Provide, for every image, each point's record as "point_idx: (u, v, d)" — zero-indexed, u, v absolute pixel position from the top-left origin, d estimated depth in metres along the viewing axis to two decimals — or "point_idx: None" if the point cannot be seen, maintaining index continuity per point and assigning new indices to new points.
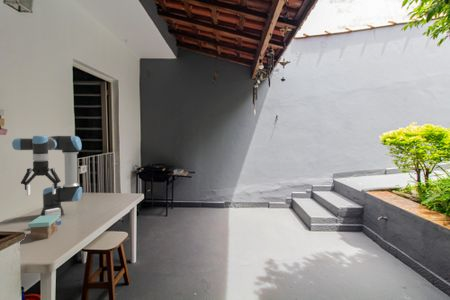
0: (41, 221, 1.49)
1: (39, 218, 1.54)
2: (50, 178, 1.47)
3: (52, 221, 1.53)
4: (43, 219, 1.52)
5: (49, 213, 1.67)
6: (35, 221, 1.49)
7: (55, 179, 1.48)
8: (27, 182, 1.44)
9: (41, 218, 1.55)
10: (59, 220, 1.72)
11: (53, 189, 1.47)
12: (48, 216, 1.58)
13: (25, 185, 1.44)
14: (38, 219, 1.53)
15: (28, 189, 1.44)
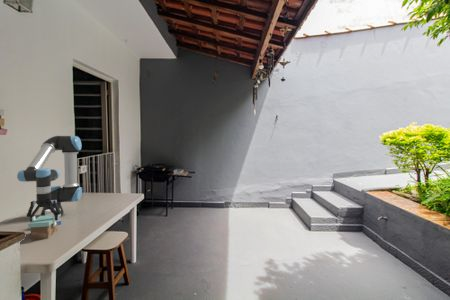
0: (41, 221, 1.49)
1: (39, 218, 1.54)
2: (52, 210, 1.53)
3: (52, 221, 1.53)
4: (43, 219, 1.52)
5: (49, 213, 1.67)
6: (35, 221, 1.49)
7: (56, 211, 1.54)
8: (32, 214, 1.51)
9: (41, 218, 1.55)
10: (59, 220, 1.72)
11: (54, 221, 1.54)
12: (48, 216, 1.58)
13: (31, 217, 1.51)
14: (38, 219, 1.53)
15: None
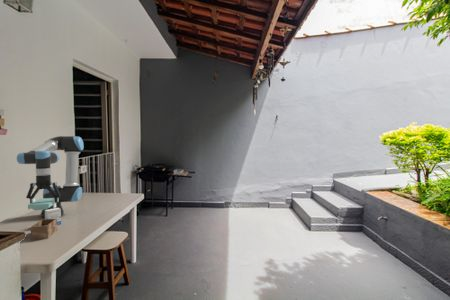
0: (41, 203, 1.49)
1: (39, 200, 1.54)
2: (51, 192, 1.53)
3: (52, 203, 1.52)
4: (43, 201, 1.51)
5: (49, 213, 1.67)
6: (35, 203, 1.48)
7: (56, 193, 1.54)
8: (32, 196, 1.50)
9: (40, 200, 1.54)
10: (59, 220, 1.72)
11: (54, 203, 1.53)
12: (48, 199, 1.57)
13: (30, 199, 1.50)
14: (38, 201, 1.52)
15: None
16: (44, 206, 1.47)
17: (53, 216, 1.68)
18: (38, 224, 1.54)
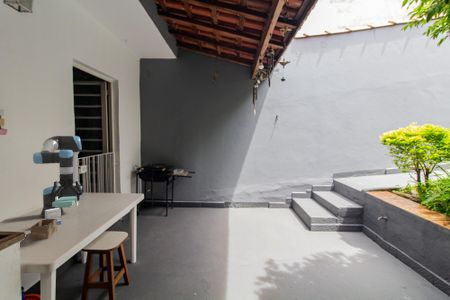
0: (65, 201, 1.52)
1: (61, 198, 1.57)
2: (74, 190, 1.56)
3: (74, 201, 1.55)
4: (66, 199, 1.55)
5: (49, 213, 1.67)
6: (58, 201, 1.51)
7: (78, 191, 1.57)
8: (55, 194, 1.53)
9: (63, 198, 1.57)
10: (59, 220, 1.72)
11: (76, 201, 1.57)
12: (70, 197, 1.60)
13: (54, 197, 1.54)
14: (61, 199, 1.55)
15: None
16: (68, 204, 1.50)
17: (52, 216, 1.68)
18: (38, 224, 1.54)
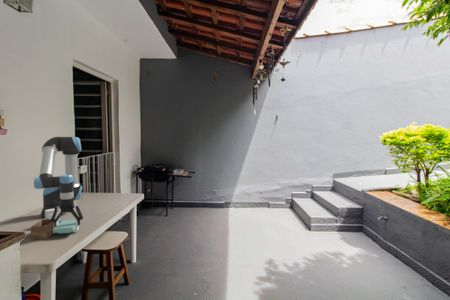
0: (65, 226, 1.52)
1: (62, 223, 1.58)
2: (74, 215, 1.57)
3: (75, 226, 1.56)
4: (66, 224, 1.55)
5: (49, 213, 1.67)
6: (59, 226, 1.52)
7: (79, 216, 1.58)
8: (56, 220, 1.54)
9: (64, 223, 1.58)
10: (59, 220, 1.72)
11: (77, 226, 1.57)
12: (70, 221, 1.61)
13: (54, 223, 1.54)
14: (61, 224, 1.56)
15: None
16: (68, 229, 1.51)
17: None
18: (38, 224, 1.54)
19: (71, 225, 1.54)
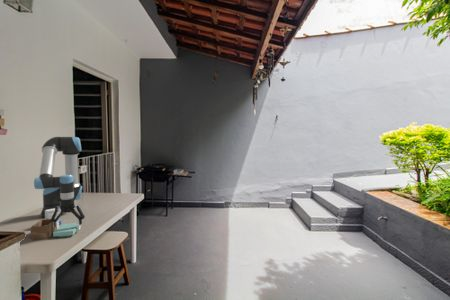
0: (65, 230, 1.53)
1: (62, 227, 1.58)
2: (76, 215, 1.57)
3: (75, 229, 1.56)
4: (67, 228, 1.56)
5: (49, 213, 1.67)
6: (59, 230, 1.52)
7: (80, 215, 1.58)
8: (56, 219, 1.54)
9: (64, 226, 1.58)
10: (59, 220, 1.72)
11: (78, 225, 1.58)
12: (71, 225, 1.61)
13: (54, 222, 1.54)
14: (62, 227, 1.56)
15: (57, 226, 1.55)
16: (69, 233, 1.51)
17: None
18: (38, 224, 1.54)
19: (71, 229, 1.54)
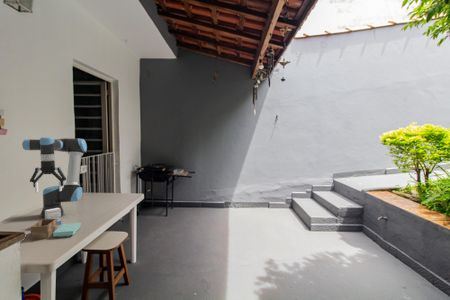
0: (65, 230, 1.53)
1: (62, 227, 1.58)
2: (57, 176, 1.60)
3: (75, 229, 1.56)
4: (67, 228, 1.56)
5: (49, 213, 1.67)
6: (59, 230, 1.52)
7: None
8: (35, 180, 1.56)
9: (64, 226, 1.58)
10: (59, 220, 1.72)
11: (60, 186, 1.61)
12: (71, 225, 1.61)
13: (34, 183, 1.56)
14: (62, 227, 1.56)
15: (36, 186, 1.57)
16: (69, 233, 1.51)
17: (53, 216, 1.68)
18: (38, 224, 1.54)
19: (71, 229, 1.54)
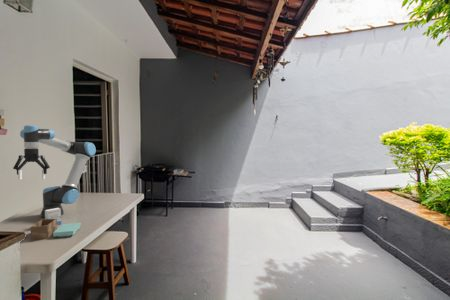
0: (65, 230, 1.53)
1: (62, 227, 1.58)
2: (40, 164, 1.61)
3: (75, 229, 1.56)
4: (67, 228, 1.56)
5: (49, 213, 1.67)
6: (59, 230, 1.52)
7: None
8: (19, 167, 1.58)
9: (64, 226, 1.58)
10: (59, 220, 1.72)
11: (43, 174, 1.62)
12: (71, 225, 1.61)
13: (17, 170, 1.58)
14: (62, 227, 1.56)
15: (20, 174, 1.59)
16: (69, 233, 1.51)
17: (53, 216, 1.68)
18: (38, 224, 1.54)
19: (71, 229, 1.54)
